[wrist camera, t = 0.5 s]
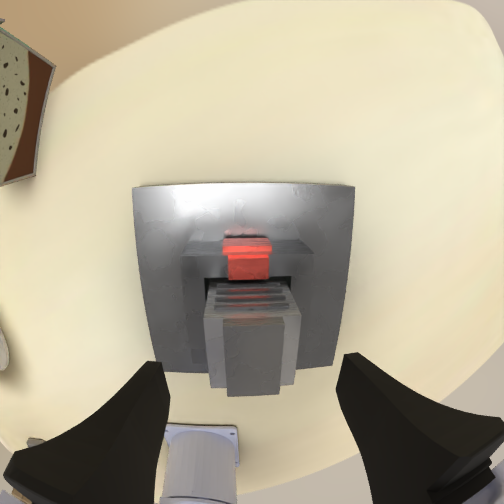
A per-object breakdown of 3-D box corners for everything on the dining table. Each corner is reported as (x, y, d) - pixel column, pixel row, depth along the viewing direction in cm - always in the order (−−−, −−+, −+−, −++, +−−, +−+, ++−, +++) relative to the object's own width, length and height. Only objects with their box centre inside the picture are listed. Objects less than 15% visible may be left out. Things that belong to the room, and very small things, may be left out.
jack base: (327, 354, 22) (346, 394, 17) (162, 360, 21) (149, 402, 16) (346, 185, 18) (383, 191, 13) (139, 186, 17) (107, 192, 12)
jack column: (275, 319, 18) (296, 393, 12) (215, 320, 18) (209, 397, 11) (278, 261, 17) (306, 319, 10) (212, 262, 17) (200, 323, 10)
